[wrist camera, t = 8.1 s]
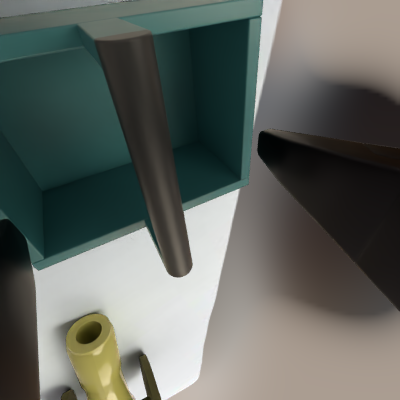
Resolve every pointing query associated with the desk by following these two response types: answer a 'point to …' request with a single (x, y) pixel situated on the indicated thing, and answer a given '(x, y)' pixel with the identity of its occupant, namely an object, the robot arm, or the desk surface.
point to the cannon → (102, 362)
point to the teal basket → (124, 120)
